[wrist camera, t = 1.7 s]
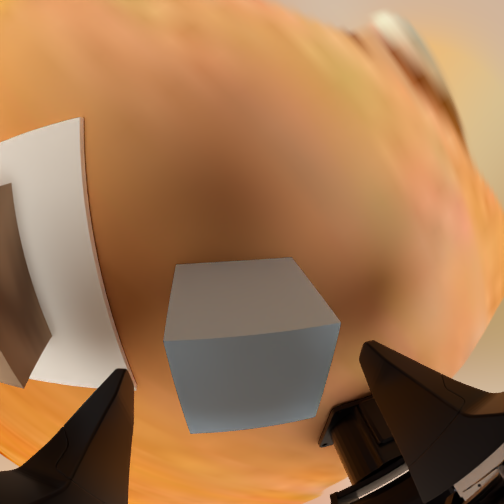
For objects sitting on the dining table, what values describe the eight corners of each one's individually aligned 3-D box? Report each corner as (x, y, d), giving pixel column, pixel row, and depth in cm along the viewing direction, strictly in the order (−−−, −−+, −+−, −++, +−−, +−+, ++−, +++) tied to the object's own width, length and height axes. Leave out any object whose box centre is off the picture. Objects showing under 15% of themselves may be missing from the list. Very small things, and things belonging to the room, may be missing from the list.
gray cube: (284, 343, 14) (315, 416, 9) (189, 352, 13) (190, 433, 9) (291, 256, 12) (340, 322, 7) (176, 263, 11) (163, 340, 7)
